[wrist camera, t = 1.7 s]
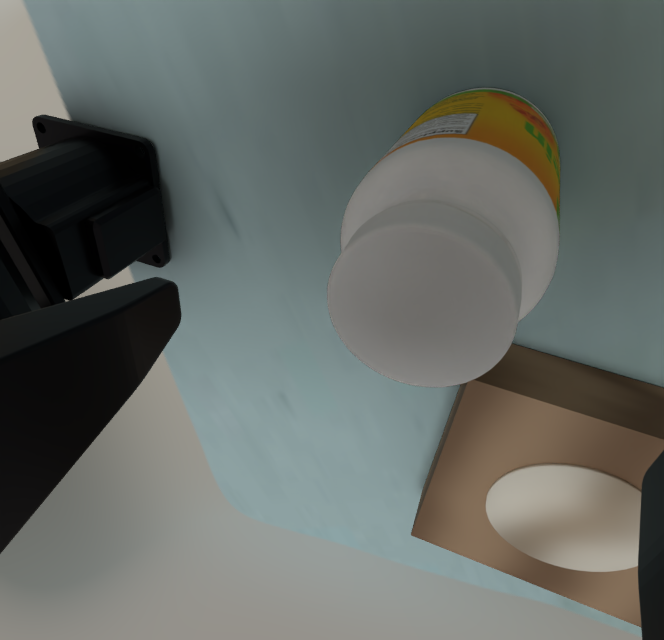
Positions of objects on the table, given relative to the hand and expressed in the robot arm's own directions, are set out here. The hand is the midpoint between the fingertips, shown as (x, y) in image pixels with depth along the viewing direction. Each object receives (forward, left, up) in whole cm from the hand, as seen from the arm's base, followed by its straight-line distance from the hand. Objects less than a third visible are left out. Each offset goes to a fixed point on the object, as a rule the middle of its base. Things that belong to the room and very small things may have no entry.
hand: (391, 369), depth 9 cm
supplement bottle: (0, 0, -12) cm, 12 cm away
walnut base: (+8, -13, -11) cm, 19 cm away
